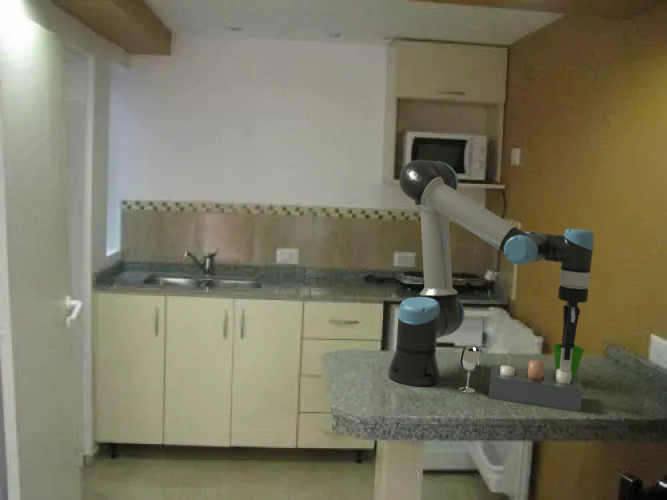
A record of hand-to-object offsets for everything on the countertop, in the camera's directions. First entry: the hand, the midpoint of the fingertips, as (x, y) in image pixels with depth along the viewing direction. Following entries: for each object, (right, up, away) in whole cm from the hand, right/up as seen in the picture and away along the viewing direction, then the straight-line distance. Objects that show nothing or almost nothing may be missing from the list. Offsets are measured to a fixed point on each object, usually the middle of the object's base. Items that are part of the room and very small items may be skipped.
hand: (564, 370), depth 179 cm
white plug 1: (-15, -7, +5) cm, 17 cm away
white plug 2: (-1, -7, +1) cm, 7 cm away
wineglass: (-26, -7, +6) cm, 27 cm away
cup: (+7, -7, +19) cm, 21 cm away
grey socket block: (-8, -8, +3) cm, 12 cm away
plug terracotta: (-8, -5, +3) cm, 10 cm away
